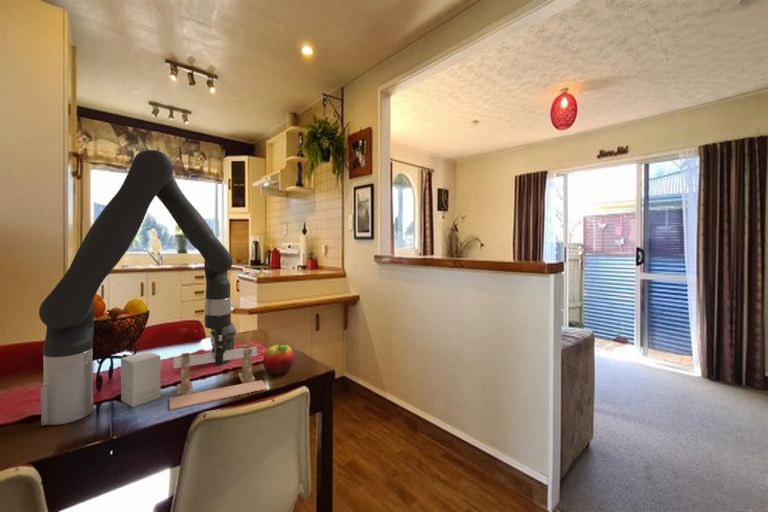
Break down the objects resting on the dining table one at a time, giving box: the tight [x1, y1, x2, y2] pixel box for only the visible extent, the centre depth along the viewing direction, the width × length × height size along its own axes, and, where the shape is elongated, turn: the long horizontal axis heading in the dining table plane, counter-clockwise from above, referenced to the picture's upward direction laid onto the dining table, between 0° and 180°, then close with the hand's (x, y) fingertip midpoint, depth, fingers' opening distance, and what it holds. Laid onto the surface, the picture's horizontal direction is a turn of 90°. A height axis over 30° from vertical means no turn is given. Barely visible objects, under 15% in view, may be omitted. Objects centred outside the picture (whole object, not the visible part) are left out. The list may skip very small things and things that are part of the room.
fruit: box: [262, 343, 295, 376], centre depth 118 cm, size 11×11×10 cm
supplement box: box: [120, 351, 162, 408], centre depth 96 cm, size 7×7×13 cm
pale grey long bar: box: [173, 346, 258, 369], centre depth 106 cm, size 24×2×2 cm, turn 123°
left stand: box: [176, 352, 194, 397], centre depth 102 cm, size 4×6×11 cm, turn 33°
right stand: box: [238, 344, 256, 384], centre depth 111 cm, size 4×6×11 cm, turn 33°
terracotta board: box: [169, 379, 268, 411], centre depth 100 cm, size 26×7×1 cm, turn 123°
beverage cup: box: [220, 321, 237, 364], centre depth 126 cm, size 7×7×20 cm
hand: (217, 361), depth 106 cm, fingers open, 8 cm apart
